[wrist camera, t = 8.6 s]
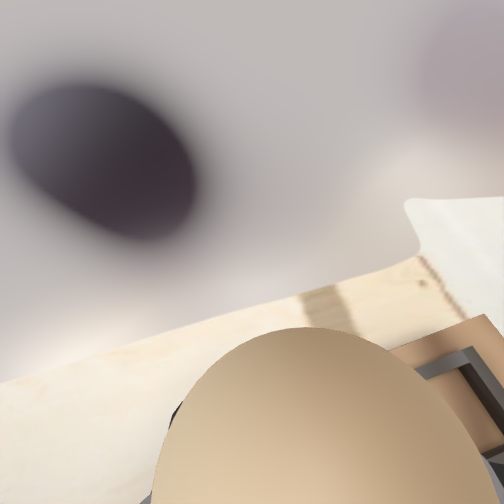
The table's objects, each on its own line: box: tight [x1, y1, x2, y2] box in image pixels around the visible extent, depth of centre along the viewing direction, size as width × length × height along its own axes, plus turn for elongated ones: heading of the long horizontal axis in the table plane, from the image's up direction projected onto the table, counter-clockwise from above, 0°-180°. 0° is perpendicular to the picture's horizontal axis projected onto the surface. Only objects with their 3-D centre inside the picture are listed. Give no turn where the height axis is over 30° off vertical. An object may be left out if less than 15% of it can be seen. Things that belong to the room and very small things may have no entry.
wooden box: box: [388, 314, 504, 464], centre depth 26 cm, size 13×12×10 cm
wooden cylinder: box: [151, 327, 500, 504], centre depth 9 cm, size 4×4×12 cm
